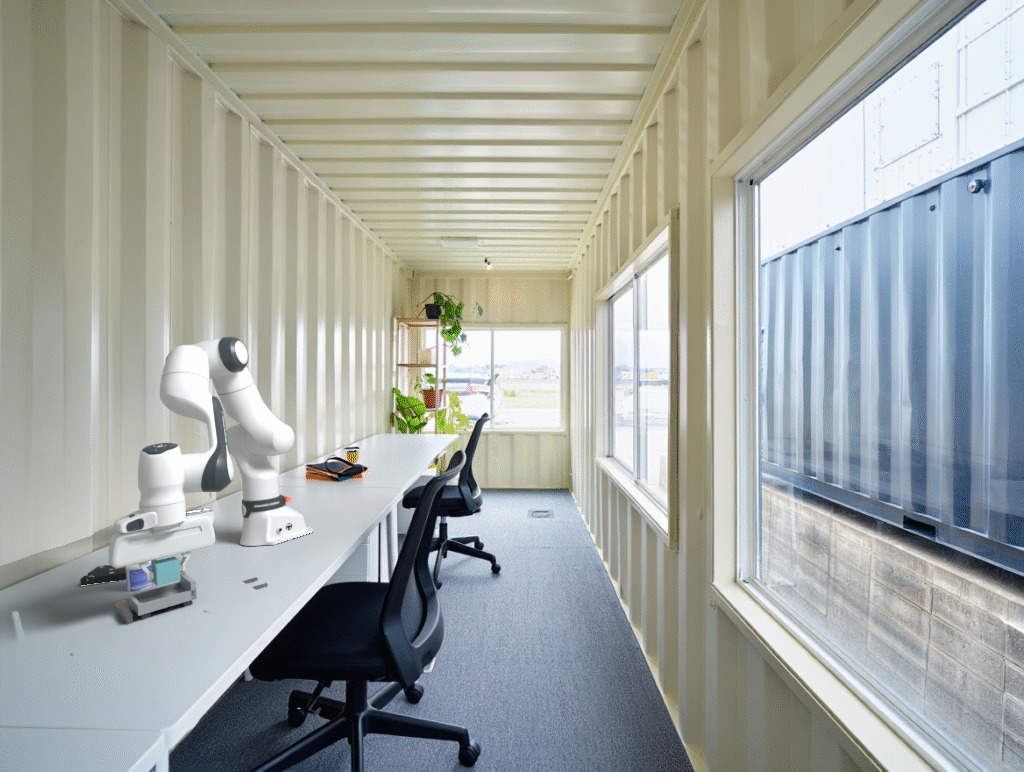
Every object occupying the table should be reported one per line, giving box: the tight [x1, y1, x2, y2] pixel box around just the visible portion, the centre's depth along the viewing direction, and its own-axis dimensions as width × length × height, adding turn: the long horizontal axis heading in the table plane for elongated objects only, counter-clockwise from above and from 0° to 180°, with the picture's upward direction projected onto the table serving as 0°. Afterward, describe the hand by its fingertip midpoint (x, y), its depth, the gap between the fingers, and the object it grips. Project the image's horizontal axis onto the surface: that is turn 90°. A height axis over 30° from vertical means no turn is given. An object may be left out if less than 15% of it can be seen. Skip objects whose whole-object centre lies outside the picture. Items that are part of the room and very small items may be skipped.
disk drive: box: [80, 559, 158, 586], centre depth 144 cm, size 10×3×15 cm
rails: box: [118, 577, 269, 625], centre depth 123 cm, size 29×8×3 cm, turn 137°
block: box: [151, 556, 181, 587], centre depth 118 cm, size 4×4×4 cm
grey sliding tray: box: [128, 572, 197, 620], centre depth 118 cm, size 11×9×6 cm
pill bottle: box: [125, 560, 154, 592], centre depth 131 cm, size 5×5×10 cm
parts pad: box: [113, 598, 131, 610], centre depth 123 cm, size 9×6×1 cm, turn 137°
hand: (166, 575), depth 118 cm, fingers closed on block, 4 cm apart
